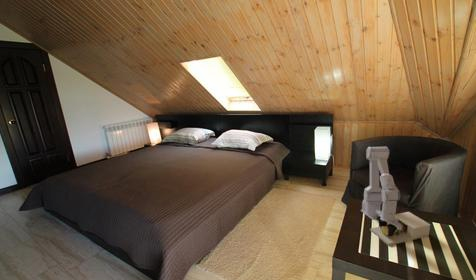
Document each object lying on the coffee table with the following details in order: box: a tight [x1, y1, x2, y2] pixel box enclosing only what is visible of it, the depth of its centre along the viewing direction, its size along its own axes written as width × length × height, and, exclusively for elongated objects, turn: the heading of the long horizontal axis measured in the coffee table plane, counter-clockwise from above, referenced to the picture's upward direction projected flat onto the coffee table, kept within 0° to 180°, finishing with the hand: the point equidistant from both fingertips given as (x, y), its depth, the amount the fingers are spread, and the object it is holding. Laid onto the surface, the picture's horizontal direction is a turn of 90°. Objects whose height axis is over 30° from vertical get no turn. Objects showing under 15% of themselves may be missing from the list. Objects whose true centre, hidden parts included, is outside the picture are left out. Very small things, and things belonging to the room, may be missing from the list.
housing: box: [369, 211, 431, 246], centre depth 115 cm, size 12×24×7 cm, turn 100°
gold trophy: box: [381, 222, 408, 235], centre depth 115 cm, size 6×14×4 cm, turn 100°
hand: (386, 232), depth 115 cm, fingers closed on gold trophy, 4 cm apart
